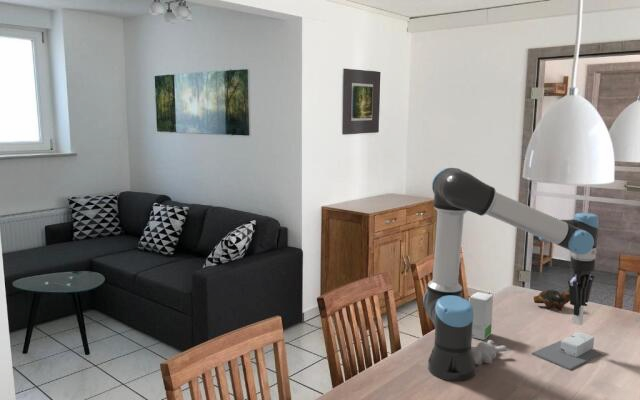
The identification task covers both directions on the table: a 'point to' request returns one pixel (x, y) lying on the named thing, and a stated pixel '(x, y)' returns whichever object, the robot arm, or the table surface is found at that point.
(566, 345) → the skincare box
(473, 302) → the skincare box
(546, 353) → the mat
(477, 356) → the bunny figurine
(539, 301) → the decorative turtle
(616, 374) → the table surface
